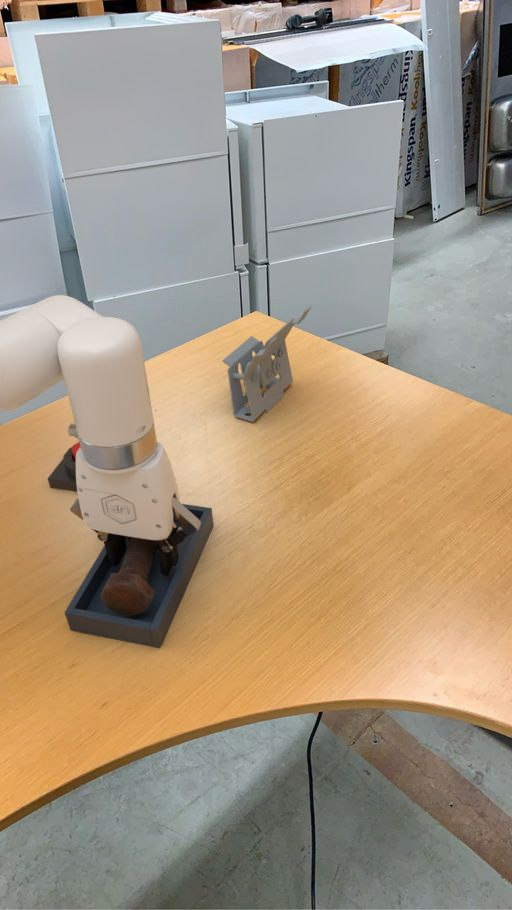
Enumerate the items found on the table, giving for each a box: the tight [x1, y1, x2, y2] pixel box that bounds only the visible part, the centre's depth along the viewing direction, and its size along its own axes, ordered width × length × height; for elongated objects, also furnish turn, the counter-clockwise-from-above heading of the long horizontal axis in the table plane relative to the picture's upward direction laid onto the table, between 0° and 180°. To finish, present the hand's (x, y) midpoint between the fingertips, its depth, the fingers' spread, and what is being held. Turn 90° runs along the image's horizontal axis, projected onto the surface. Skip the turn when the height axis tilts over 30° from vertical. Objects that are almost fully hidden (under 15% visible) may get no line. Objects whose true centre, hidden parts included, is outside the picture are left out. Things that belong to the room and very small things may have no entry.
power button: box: [72, 441, 80, 462], centre depth 91 cm, size 4×4×2 cm
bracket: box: [222, 305, 313, 423], centre depth 102 cm, size 13×10×15 cm
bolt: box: [100, 536, 160, 616], centre depth 76 cm, size 6×5×15 cm
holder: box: [64, 503, 214, 649], centre depth 77 cm, size 11×19×3 cm, turn 166°
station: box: [47, 444, 78, 493], centre depth 92 cm, size 9×8×4 cm
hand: (143, 561), depth 77 cm, fingers closed on bolt, 5 cm apart
